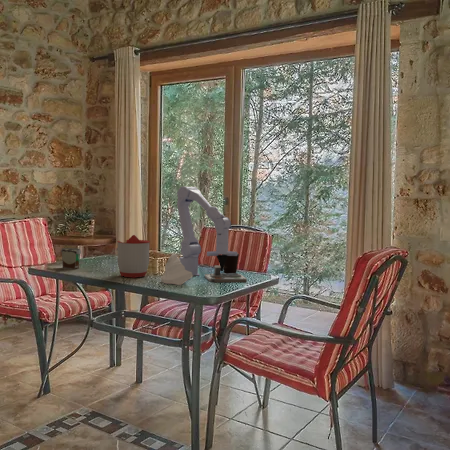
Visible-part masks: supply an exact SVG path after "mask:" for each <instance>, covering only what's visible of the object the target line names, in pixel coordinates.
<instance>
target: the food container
mask: <svg viewBox="0 0 450 450" xmlns="http://www.w3.org/2000/svg"><path fill="white" fill-rule="evenodd" d="M60 252H61V260H62V261H61V262H62V268H64V269H69V270H78V269H80V256H81V254H82V250H81V248H77V247H66V248H65V247H64V248H63V247H62V248H61V249H60Z"/></svg>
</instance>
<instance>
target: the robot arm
mask: <svg viewBox="0 0 450 450" xmlns="http://www.w3.org/2000/svg"><path fill="white" fill-rule="evenodd" d="M176 194H177V202H176V205H177V211H178V216H179V222H180V226H181V232H182V237H183V239H182V241H181V243H180V244H181V246H180V253H181V255H182V256H180V257H179V258H178V259H179V260H180V262H181V264H182V265H183V266H185V270H187V271H189V272H192V275H193V276H194V277H195V276H196V277H197V276H200V273H199V269H198V268H199V256H200V254H201V252H202V246H201V245H200V243H199V240H198V239H197V237H195V231H194V227H193V223H192V217H191V213H190V205H191V203H193V202H194V201H195V202H196V203H197V204H198V205H200V206H201V207H202V208H203V210H204V211H206V212H205V214H206V217H208V218H209V220H211V221H212V222H213V224H214V225H213V226H214V228H215V231H216V241H215V245H216V246H215V251H206V256H207V257H216V258H217V261H218V264H219V266H221V271H220V272H224V268H223V267H224V264H225V261H226V260H227V256H237V253H238V251H229V235H230V234H229V230H230V228H231V227H232V221H231V219H230V217H227V216H225V215H224V214H223V213H221V211H220V210H219V208H218V207H217V206H214V205H213V206H212V205H211V204H210V203H209V201H208V200H207V199H206V198H205V196H203V194H202V192H201V190H200V189H199V188H197V186H185V185H184V186H183V185H182V186H180V187H179V189H178V190H177V193H176ZM222 254H226V255H222Z"/></svg>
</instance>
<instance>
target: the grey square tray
mask: <svg viewBox="0 0 450 450" xmlns="http://www.w3.org/2000/svg"><path fill="white" fill-rule="evenodd" d="M208 274H209V273H205V274H204V276H205V275H208ZM211 282H212V283H247V281H246V279H212V281H211Z"/></svg>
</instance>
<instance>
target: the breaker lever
mask: <svg viewBox="0 0 450 450" xmlns="http://www.w3.org/2000/svg"><path fill="white" fill-rule="evenodd" d="M213 267H214V269H213V270H214V273H212V274H213V275H221V274H220V273H221V272H222V271H221V266H220V265H214V266H213Z"/></svg>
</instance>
